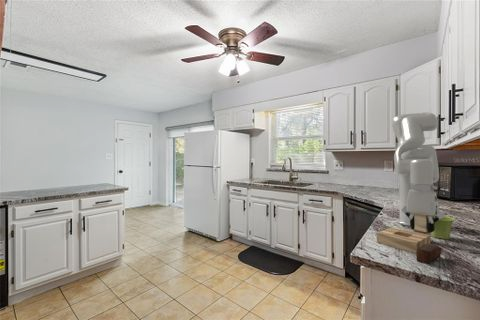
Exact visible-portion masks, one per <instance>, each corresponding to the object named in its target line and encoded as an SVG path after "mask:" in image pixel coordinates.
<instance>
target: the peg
mask: <svg viewBox="0 0 480 320" xmlns="http://www.w3.org/2000/svg"><path fill="white" fill-rule="evenodd" d="M414 220H415V229H413V232H417V233H422V234H427V235H430V236H431V233H429V232H428V223H430V221H429V218H428V216H426V215H423V214H417V213H414Z"/></svg>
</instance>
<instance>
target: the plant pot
mask: <svg viewBox="0 0 480 320" xmlns="http://www.w3.org/2000/svg"><path fill="white" fill-rule="evenodd" d="M438 216H439V215H438V214H437V215H435V216H434V218H436V217H438ZM454 221H455V219H454V218H453V217H449V216H445V217H444V218H442V219H440V220H438V221H436V222H435V230H434V231H433V232H432V233H430V236H431V237H433V238H434V239H442V240H450V238H451V231H452V225H453V223H454Z"/></svg>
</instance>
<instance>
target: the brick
mask: <svg viewBox="0 0 480 320" xmlns="http://www.w3.org/2000/svg"><path fill="white" fill-rule="evenodd" d="M415 255H416V262H419V263H422V264H425V265H431V264H434V263H436V262H437V261H438V260H439V259H440V258H441V255H442V248H441V246H439V245H437V244H433V243H431V244H430V243H426V244H424V245H422V246H420V247H418V248H417V251H416V253H415Z"/></svg>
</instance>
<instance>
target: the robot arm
mask: <svg viewBox="0 0 480 320" xmlns="http://www.w3.org/2000/svg"><path fill="white" fill-rule="evenodd" d="M391 122H392V123H391V124H392V130H393V132H394V135H395V137H396V139H397V144H398V146H397V148H396V149H395V151H394V154H393V155H394V156H393V163H394V169H395V172H396V177H397V180H398V192H399V193H398V196H399V200H398V202H399V204H398V205H399V218H396V219H395V222H396V223H398V224H400V225H403V226H410V228H411V230H415V220H414V213H417V214H423V215H426V216H428V218H429V221H430V223H428V232H429V233H430V234H431V233H432V232H433V231H434V230H435V222H436V221H438V220H440V219H442V218H444V217H446V215H445V214H444V213H443V212H442V211H441V210H440V208H439V201H438V196H437V192H436V191H437V190H438V186H436V185H434V183H437V182H439V179H440V171H439V169H440V168H439V164H438V163H439V162H438V155H437V150H436V149H435V147H434V146H431V145H424V144H425V142H426V138H425V133H424V132H432V131H435V130H436V129H437V128H438V126H439V120H438V117H437V115H436V114H434V113H432V112H428V111H427V112H418V113H406V114H399V115H395V116H394V117H393V119H392V121H391ZM435 215H437V216H438V217H436V218H434V216H435Z"/></svg>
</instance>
